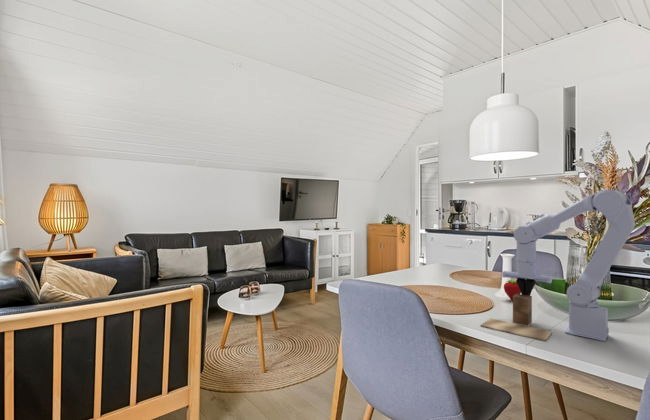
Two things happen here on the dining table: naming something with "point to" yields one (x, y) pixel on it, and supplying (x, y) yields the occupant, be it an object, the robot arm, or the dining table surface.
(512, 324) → the light wood flat board
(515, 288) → the strawberry
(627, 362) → the dining table surface
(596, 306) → the robot arm
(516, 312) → the walnut block
